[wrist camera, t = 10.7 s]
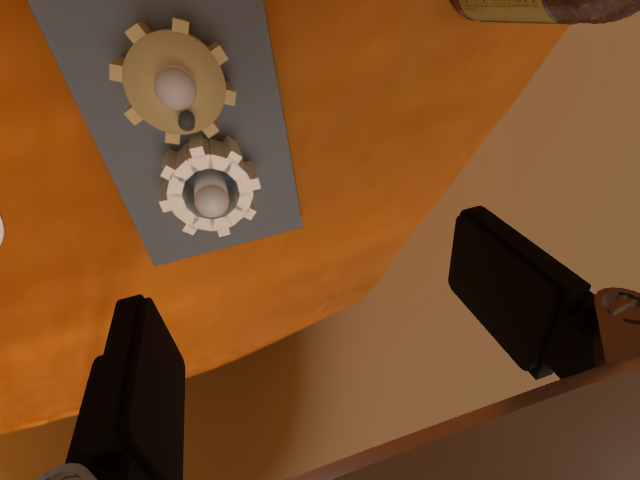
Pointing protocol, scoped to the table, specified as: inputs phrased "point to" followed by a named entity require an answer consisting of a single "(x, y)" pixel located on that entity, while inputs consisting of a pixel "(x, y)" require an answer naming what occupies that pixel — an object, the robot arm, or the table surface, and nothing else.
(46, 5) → the gear board
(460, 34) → the table surface
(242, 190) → the gear
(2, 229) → the teacup and saucer
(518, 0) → the sauce bottle
